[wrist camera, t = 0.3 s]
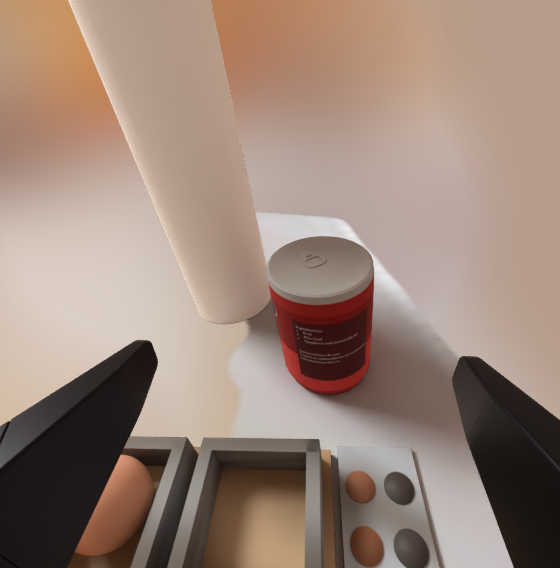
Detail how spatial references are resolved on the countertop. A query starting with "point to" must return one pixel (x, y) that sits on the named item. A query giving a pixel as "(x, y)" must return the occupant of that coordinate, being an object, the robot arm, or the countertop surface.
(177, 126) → the cylinder container
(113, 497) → the terracotta ball
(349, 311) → the canned food
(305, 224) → the countertop surface
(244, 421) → the countertop surface
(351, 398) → the countertop surface
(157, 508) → the grey sorting tray
